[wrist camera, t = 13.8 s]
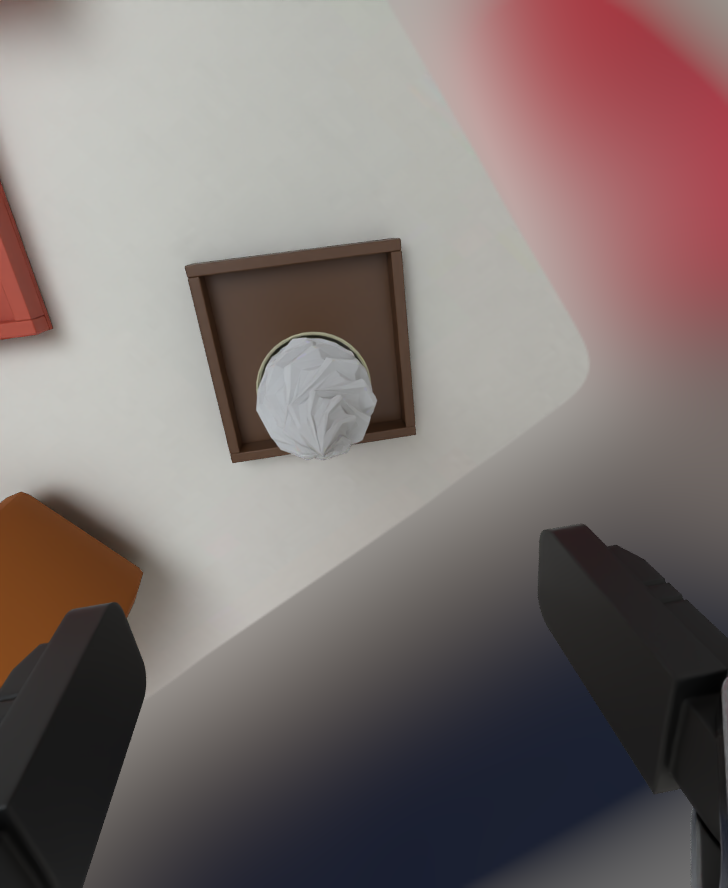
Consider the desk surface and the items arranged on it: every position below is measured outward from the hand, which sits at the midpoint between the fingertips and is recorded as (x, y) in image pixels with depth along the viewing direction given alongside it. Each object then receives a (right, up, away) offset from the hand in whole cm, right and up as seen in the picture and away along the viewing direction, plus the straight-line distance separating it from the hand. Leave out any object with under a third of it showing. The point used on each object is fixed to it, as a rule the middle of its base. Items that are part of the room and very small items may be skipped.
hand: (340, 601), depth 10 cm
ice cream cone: (-3, +9, +20) cm, 22 cm away
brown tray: (-3, +9, +20) cm, 22 cm away
